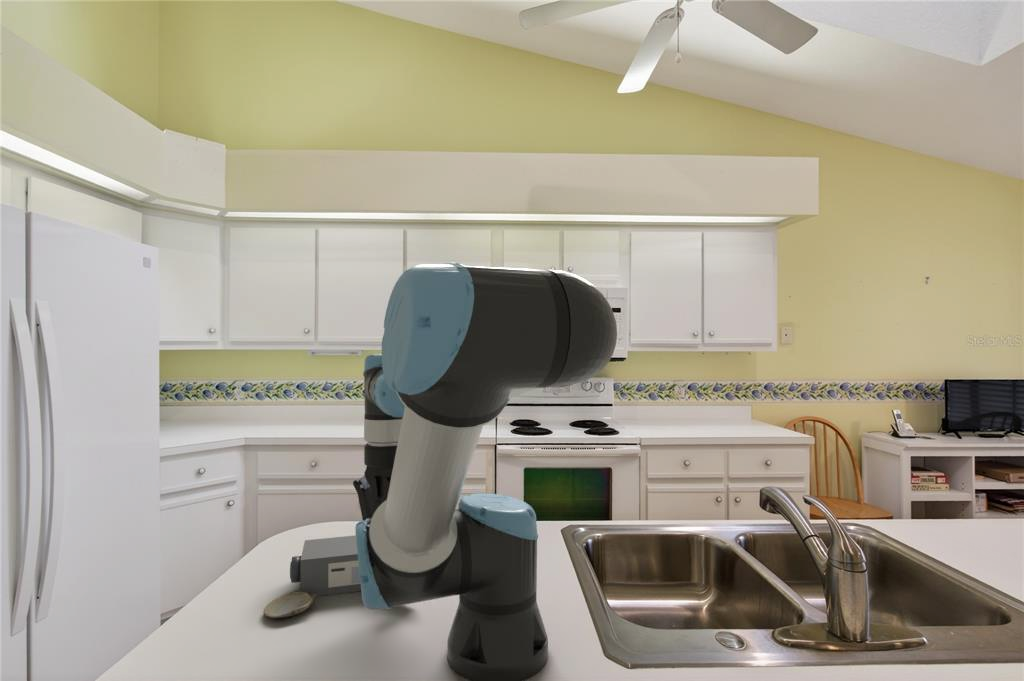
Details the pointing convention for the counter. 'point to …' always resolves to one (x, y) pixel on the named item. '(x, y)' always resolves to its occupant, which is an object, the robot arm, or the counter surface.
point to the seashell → (289, 604)
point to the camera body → (327, 566)
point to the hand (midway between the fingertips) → (386, 577)
